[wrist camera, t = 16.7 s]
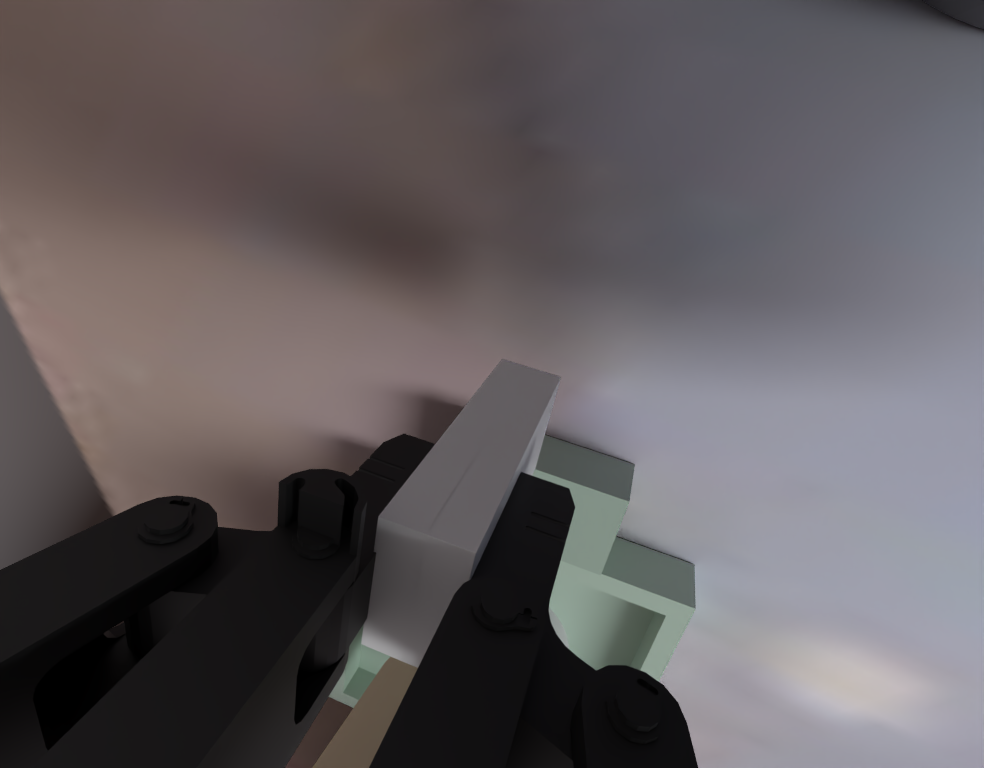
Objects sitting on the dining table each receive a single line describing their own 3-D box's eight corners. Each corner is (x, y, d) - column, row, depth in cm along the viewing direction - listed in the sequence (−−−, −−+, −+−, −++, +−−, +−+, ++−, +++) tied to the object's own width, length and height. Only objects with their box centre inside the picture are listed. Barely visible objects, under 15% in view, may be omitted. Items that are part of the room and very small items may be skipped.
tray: (385, 382, 24) (355, 407, 21) (727, 495, 21) (733, 537, 19) (351, 658, 31) (326, 698, 29) (597, 766, 29) (590, 818, 27)
